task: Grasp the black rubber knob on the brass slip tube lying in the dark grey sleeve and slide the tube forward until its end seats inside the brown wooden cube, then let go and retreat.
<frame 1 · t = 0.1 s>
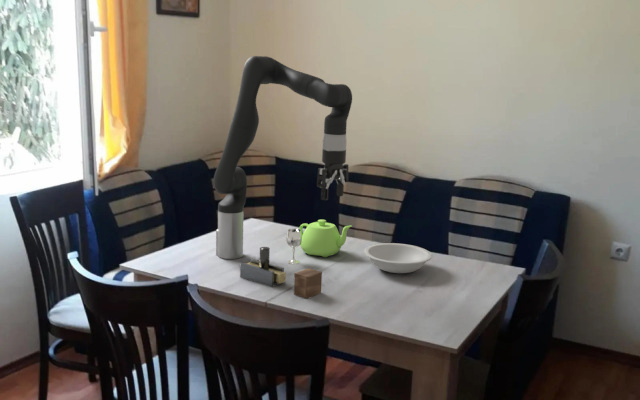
hand: (332, 197, 206), 29 cm above the table, fingers open, 8 cm apart
brown wooden cube: (308, 283, 202), on the table
soup bowl: (396, 270, 229), on the table
teapot: (323, 254, 245), on the table
wineglass: (293, 262, 234), on the table
sleeve: (261, 279, 214), on the table
slip tube: (264, 262, 212), point 6 cm above the table, slide at 0.0 cm
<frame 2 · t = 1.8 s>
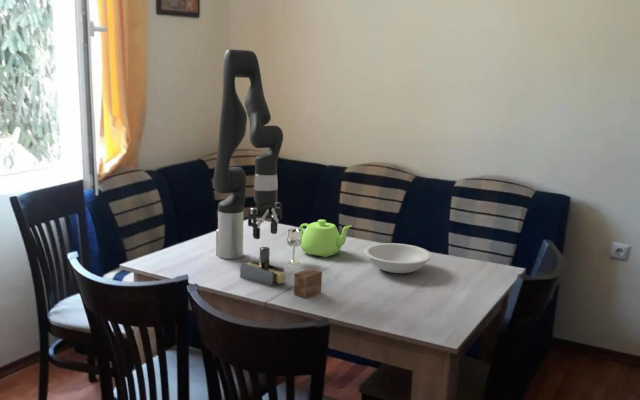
hand: (265, 236, 210), 15 cm above the table, fingers open, 8 cm apart
nothing on the table moved.
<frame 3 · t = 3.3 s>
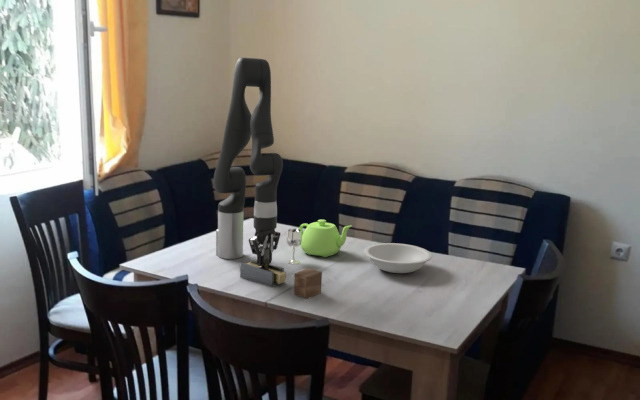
hand: (264, 264, 212), 6 cm above the table, fingers closed on slip tube, 3 cm apart
slip tube: (264, 262, 212), point 6 cm above the table, slide at 0.0 cm, touching gripper
everything else where it was.
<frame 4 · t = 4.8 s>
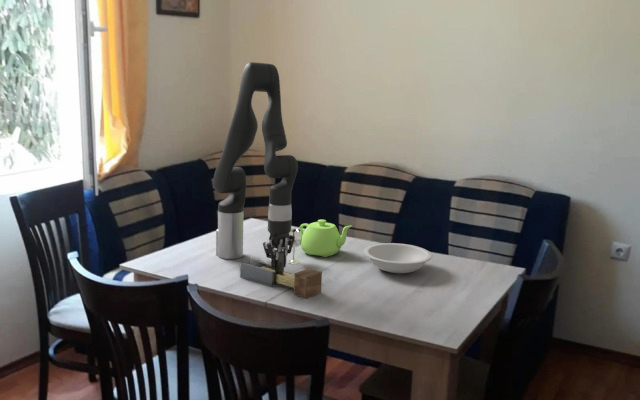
hand: (278, 268, 208), 6 cm above the table, fingers closed on slip tube, 3 cm apart
slip tube: (278, 266, 208), point 6 cm above the table, slide at 6.1 cm, touching gripper
everything else where it was.
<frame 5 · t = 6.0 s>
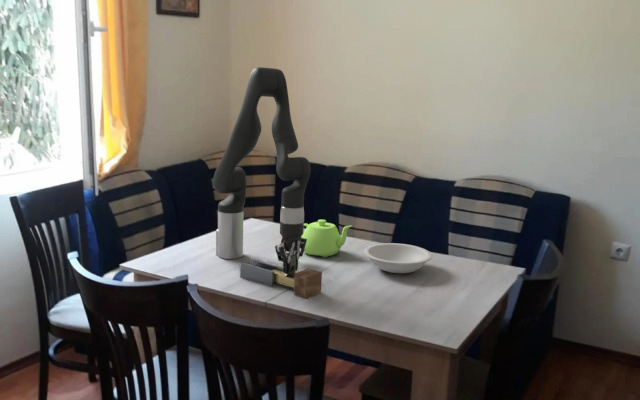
hand: (290, 271, 206), 6 cm above the table, fingers closed on slip tube, 3 cm apart
slip tube: (290, 269, 206), point 6 cm above the table, slide at 11.1 cm, touching gripper
everything else where it was.
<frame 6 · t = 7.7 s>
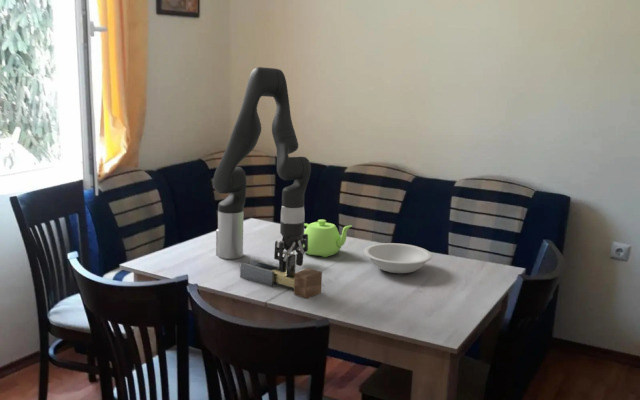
hand: (291, 268, 205), 7 cm above the table, fingers open, 8 cm apart
slip tube: (290, 269, 206), point 6 cm above the table, slide at 11.0 cm
everything else where it was.
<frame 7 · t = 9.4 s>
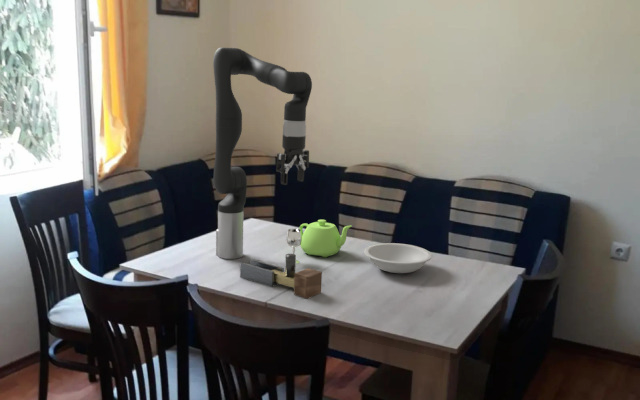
hand: (292, 182, 212), 32 cm above the table, fingers open, 8 cm apart
nothing on the table moved.
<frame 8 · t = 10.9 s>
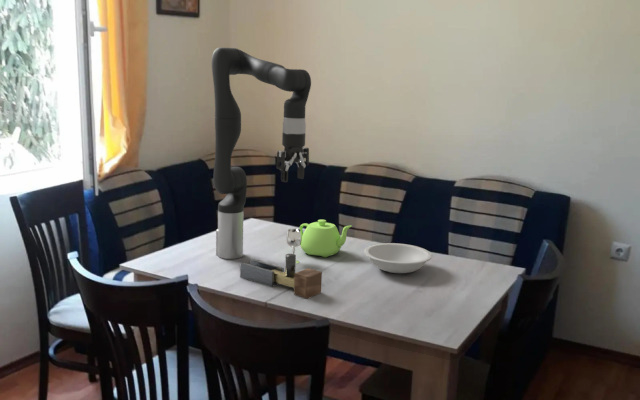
hand: (292, 180, 212), 33 cm above the table, fingers open, 8 cm apart
nothing on the table moved.
at the end: slip tube slide at 11.0 cm; the gripper is holding nothing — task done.
